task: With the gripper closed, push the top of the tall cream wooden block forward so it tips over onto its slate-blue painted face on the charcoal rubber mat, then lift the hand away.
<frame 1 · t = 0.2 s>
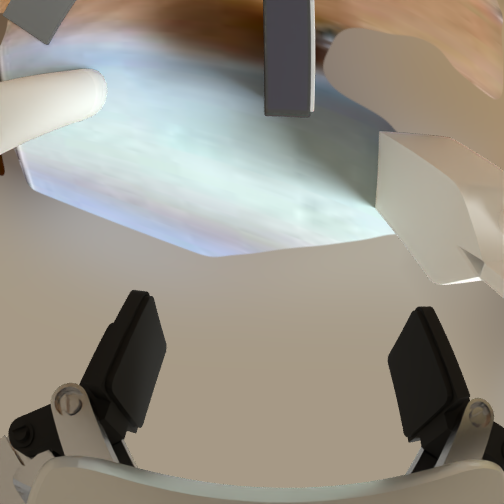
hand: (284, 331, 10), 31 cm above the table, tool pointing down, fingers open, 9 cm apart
milk: (413, 171, 36), on the table
dark grey box: (285, 63, 30), on the table
bottle: (87, 93, 32), on the table
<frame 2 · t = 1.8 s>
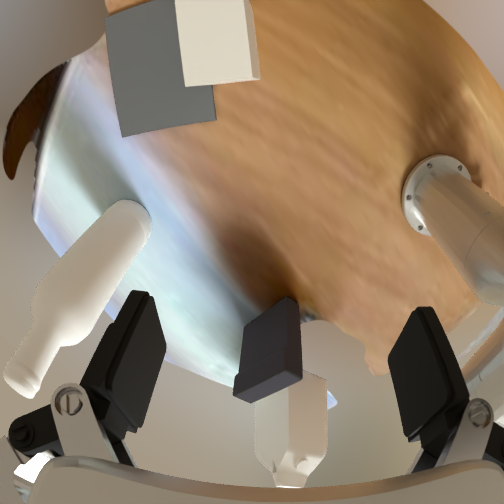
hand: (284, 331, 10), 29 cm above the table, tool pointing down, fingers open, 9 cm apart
milk: (290, 381, 62), on the table
mat: (157, 62, 29), on the table
flip block: (235, 47, 27), on the table
dark grey box: (270, 315, 50), on the table
bottle: (130, 221, 42), on the table
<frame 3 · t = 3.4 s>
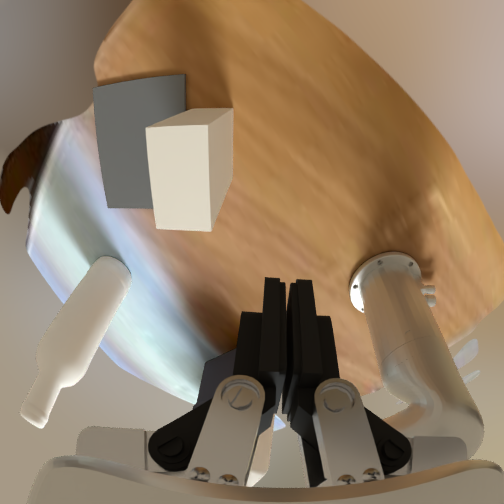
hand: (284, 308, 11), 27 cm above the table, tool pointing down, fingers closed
milk: (244, 405, 70), on the table
mat: (140, 145, 34), on the table
flip block: (212, 143, 34), on the table
dark grey box: (228, 357, 57), on the table
bottle: (113, 273, 47), on the table
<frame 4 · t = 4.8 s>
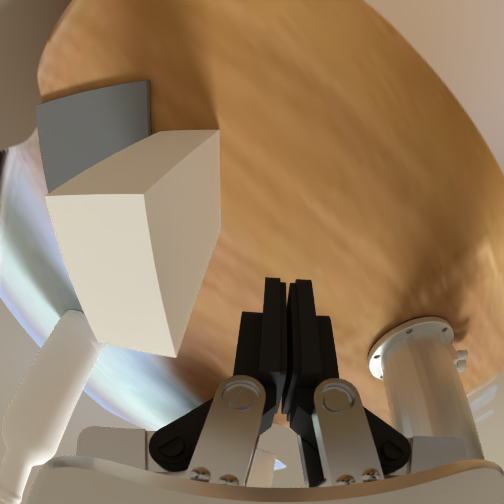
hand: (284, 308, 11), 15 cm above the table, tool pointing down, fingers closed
milk: (241, 451, 59), on the table
mat: (95, 183, 24), on the table
flip block: (191, 181, 24), on the table
bottle: (85, 327, 37), on the table
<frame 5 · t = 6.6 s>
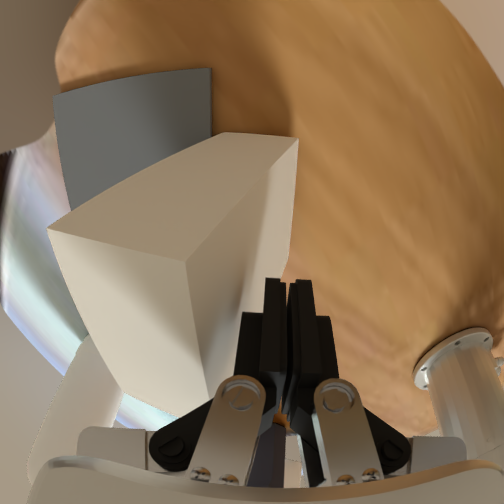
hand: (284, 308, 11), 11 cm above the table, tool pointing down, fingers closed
milk: (267, 461, 56), on the table
mat: (133, 192, 21), on the table
flip block: (258, 197, 20), point 1 cm above the table, tilted 13°
dark grey box: (256, 430, 44), on the table
bottle: (110, 350, 34), on the table
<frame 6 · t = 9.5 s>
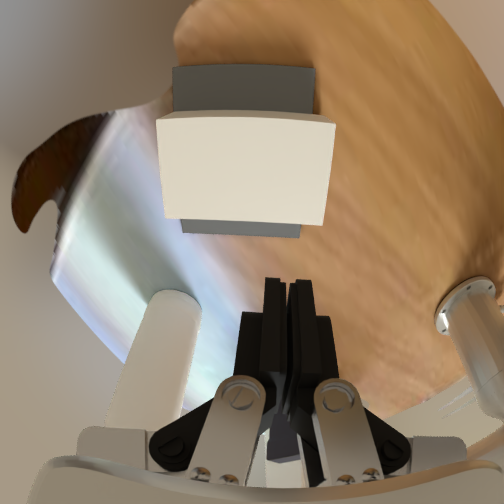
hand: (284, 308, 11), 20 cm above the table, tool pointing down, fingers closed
milk: (297, 426, 64), on the table
mat: (241, 153, 27), on the table
flip block: (324, 168, 25), point 3 cm above the table, tilted 90°, touching mat
dark grey box: (297, 385, 51), on the table
bottle: (176, 307, 40), on the table
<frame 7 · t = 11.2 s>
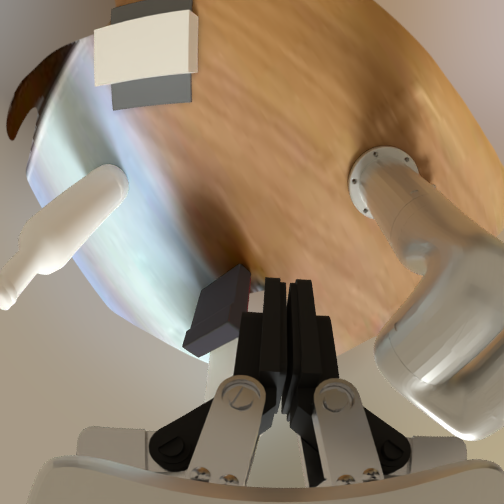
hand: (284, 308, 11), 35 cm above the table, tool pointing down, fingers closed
milk: (243, 353, 69), on the table
mat: (149, 50, 33), on the table
flip block: (193, 42, 30), point 3 cm above the table, tilted 90°, touching mat
dark grey box: (225, 281, 56), on the table
bottle: (111, 183, 46), on the table
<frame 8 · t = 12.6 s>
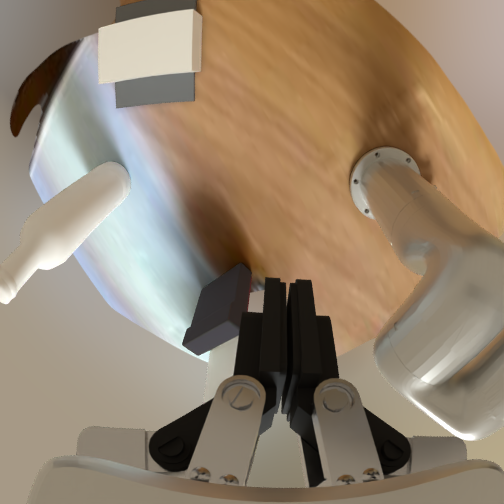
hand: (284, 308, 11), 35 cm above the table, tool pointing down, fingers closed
milk: (243, 353, 69), on the table
mat: (153, 49, 33), on the table
flip block: (197, 41, 30), point 3 cm above the table, tilted 90°, touching mat
dark grey box: (226, 280, 56), on the table
bottle: (113, 181, 46), on the table
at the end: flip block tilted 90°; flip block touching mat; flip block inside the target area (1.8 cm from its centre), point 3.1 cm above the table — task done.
